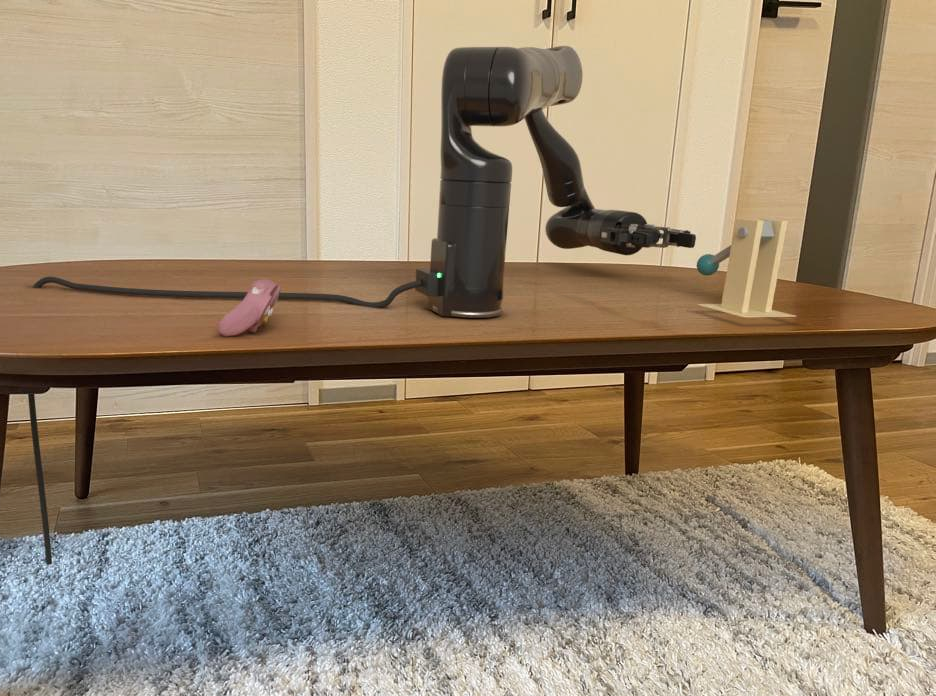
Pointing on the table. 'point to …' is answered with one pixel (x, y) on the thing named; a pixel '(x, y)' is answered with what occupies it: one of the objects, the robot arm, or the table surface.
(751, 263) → the bracket
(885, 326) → the table surface
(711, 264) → the lever
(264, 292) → the pink rounded piece
